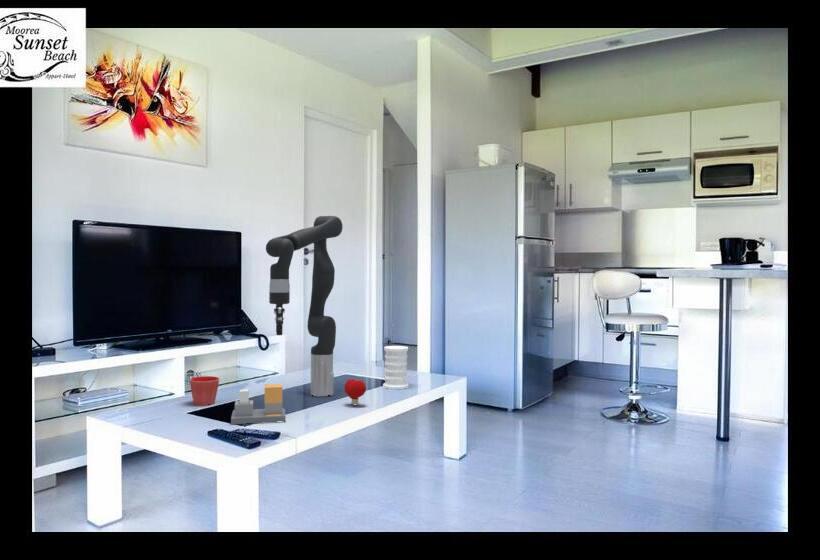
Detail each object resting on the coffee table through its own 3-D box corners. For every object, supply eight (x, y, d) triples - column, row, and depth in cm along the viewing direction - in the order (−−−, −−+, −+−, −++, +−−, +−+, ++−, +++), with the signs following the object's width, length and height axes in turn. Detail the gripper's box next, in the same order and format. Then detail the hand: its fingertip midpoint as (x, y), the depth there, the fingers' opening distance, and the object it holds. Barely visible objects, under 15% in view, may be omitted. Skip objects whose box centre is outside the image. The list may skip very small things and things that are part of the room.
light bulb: (369, 405, 230) (370, 379, 230) (358, 408, 224) (358, 382, 224) (351, 402, 235) (351, 377, 235) (339, 405, 229) (340, 379, 229)
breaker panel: (284, 413, 216) (284, 397, 215) (285, 422, 204) (285, 404, 204) (233, 415, 211) (233, 399, 211) (230, 424, 200) (231, 406, 200)
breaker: (248, 404, 208) (248, 389, 208) (248, 406, 205) (248, 391, 205) (239, 405, 207) (240, 389, 207) (239, 407, 205) (239, 391, 204)
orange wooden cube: (281, 399, 212) (282, 383, 212) (282, 402, 206) (282, 387, 206) (264, 399, 211) (264, 384, 211) (264, 403, 205) (264, 387, 205)
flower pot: (221, 404, 228) (222, 379, 228) (192, 407, 223) (192, 382, 222) (216, 399, 237) (216, 375, 237) (187, 402, 232) (187, 377, 232)
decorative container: (380, 389, 261) (380, 348, 261) (385, 384, 273) (386, 345, 272) (406, 390, 259) (406, 349, 259) (410, 385, 271) (411, 346, 270)
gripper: (290, 292, 218) (289, 335, 218) (289, 290, 232) (288, 331, 232) (269, 292, 216) (269, 336, 216) (269, 290, 230) (269, 332, 230)
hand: (279, 333), depth 224 cm, fingers open, 8 cm apart
